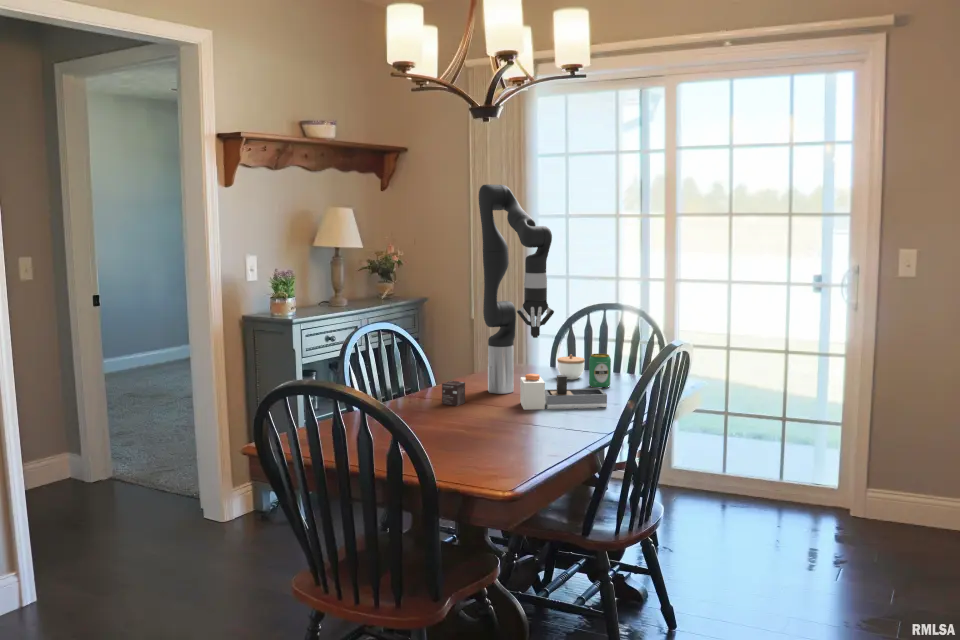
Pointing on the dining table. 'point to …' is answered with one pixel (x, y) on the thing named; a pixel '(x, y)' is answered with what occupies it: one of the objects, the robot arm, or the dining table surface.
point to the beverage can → (599, 370)
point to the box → (453, 393)
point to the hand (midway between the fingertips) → (535, 337)
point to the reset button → (532, 377)
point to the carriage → (561, 386)
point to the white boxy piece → (532, 394)
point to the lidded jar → (571, 366)
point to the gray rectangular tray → (576, 399)
